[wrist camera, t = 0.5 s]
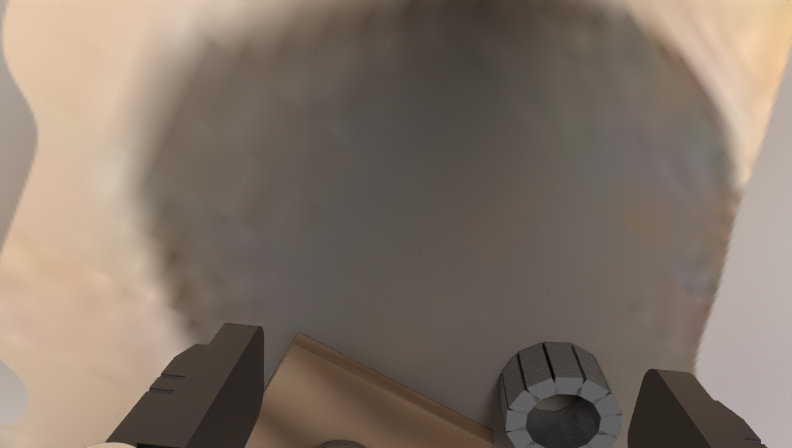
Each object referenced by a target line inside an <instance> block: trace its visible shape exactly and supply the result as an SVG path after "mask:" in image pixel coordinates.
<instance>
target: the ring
mask: <svg viewBox="0 0 792 448" xmlns="http://www.w3.org/2000/svg"><path fill="white" fill-rule="evenodd" d="M502 372H503V373H501V380H500V399H501V405H502V411H503V417H504V423H505V430H506V434H507V435H508V437H509V438H510V440H511V441H512V443H513V445H514V446H515V448H608V447H609V446H610V445H611V444H612V443H613V442H614V441H615V440H616V439H617V438H616V436H618V435H619V430H620V425H621V420H622V414H621V413H622V412H621V409H620V407H619V405H618V403H617V401H616V399H615V396H614V394H613V392H612V390H611V388H610V385H609V383H608V381H607V379H606V377H605V375H604V373H603V371H602V369H601V367H600V365H599V363H598V361H597V360H596V358H595V357H594V356H593V355H592V354H590V353H589V352H587V351H585V350H583V349H581V348H579V347H578V346H576V345H574V344H572V345H571V346H570V343H556V342H544V347H543V346H542V344H541V343H539V344H537V345H534V346H532V347H529V348H527V349H525V350H522V351H520V352H519V356H518V355H517V354H515V356H514V357H513V358H512V359H511V360H510V362H509V363H508V364H507V365H506V367H505V368H504V369H503V370H502ZM556 394H571V395H579V396H581V397H580V398H579V399H578V400H577V401H576V402H575V403H574V404H573V405H572V406H569V407H566V408H564V409H561V410H559V411H543V410H538V409H536V408H534V406H535V405H536V404H537V402H538V401H540V400H543V399H545V398H548V397H550V396H553V395H556Z"/></svg>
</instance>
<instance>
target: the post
mask: <svg viewBox="0 0 792 448" xmlns="http://www.w3.org/2000/svg"><path fill="white" fill-rule="evenodd" d="M316 448H367V447H365V446H363V445H362V444H359V443H357V442H354V441H350V440H331V441H327V442H324V443H322V444H320V445H319V446H317V447H316Z"/></svg>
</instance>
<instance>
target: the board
mask: <svg viewBox="0 0 792 448" xmlns="http://www.w3.org/2000/svg"><path fill="white" fill-rule="evenodd" d="M331 440H350V441H354V442H357V443H359V444H362V445H363V446H365V447H367V448H492V447H493V446H494V442H493V434H492V430H490V429H488V428H486V427H484V426H482V425H480V424H478V423H476V422H474V421H472V420H470V419H468V418H466V417H464V416H462V415H460V414H458V413H456V412H454V411H452V410H450V409H448V408H446V407H444V406H442V405H440V404H438V403H436V402H434V401H433V400H431V399H429V398H427V397H425V396H423V395H421V394H419V393H417V392H415V391H413V390H411V389H409V388H407V387H405V386H403V385H401V384H399V383H397V382H395V381H393V380H391V379H389V378H387V377H385V376H383V375H381V374H379V373H377V372H375V371H373V370H371V369H370V368H368V367H366V366H364V365H362V364H360V363H358V362H356V361H354V360H352V359H350V358H348V357H346V356H344V355H342V354H340V353H338V352H336V351H334V350H332V349H330V348H328V347H326V346H324V345H322V344H320V343H318V342H316V341H314V340H312V339H310V338H309V337H307V336H305V335H303V334H301V333H299V332H298V334H297V336H296V338H295V339H294V341H293V343H292V344H291V346H290V348H289V349H288V351H287V353H286V354H285V356H284V358H283V360H282V361H281V363H280V365H279V366H278V368H277V370H276V371H275V373H274V375H273V376H272V378H271V380H270V382H269V383H268V385H267V387H266V388H265V390H264V393H263V401H262V406H261V410H260V414H259V417H258V419H257V422H256V424H255V426H254V428H253V431H252V433H251V435H250V437H249V439H248V441H247V444H246V446H245V448H316V447H317V446H319V445H320V444H322V443H324V442H327V441H331Z"/></svg>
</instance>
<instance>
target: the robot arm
mask: <svg viewBox="0 0 792 448" xmlns="http://www.w3.org/2000/svg"><path fill="white" fill-rule="evenodd" d="M263 393H264V332H263V329H262V327H260V326H251V325H242V324H232V323H225V324H224V325H223V326H222V328H221V329H220V330H219V332H218V333H217V334H216V336H215V337H214V338H213V340H212V341H211V343H210V344H209V345H201V344H195V345H194V346H192V347H190V348H189V349H187V350H185V351H184V352H182V353H181V354H179V355H177V356H176V357H174V358H173V360H172V361H171V362H170V363H169V365H168V366H167V367H166V368H165V370H164V371H163V372H162V373H161V377H158V378H157V379H156V381H155V382H154V383H153V384H152V385H151V387H150V389H149V392H148V391H147V392H146V393H145V394H144V395H143V396H142V398H141V399H140V400H139V401H138V403H137V404H136V405H135V406H134V407H133V409H132V410H131V411H130V412H129V414H128V415H127V416H126V417H125V419H124V420H123V421H122V422H121V423H120V425H119V426H118V427H117V428H116V430H115V431H114V432H113V433H112V434H111V436H110V437H109V438H108V439H107V441H106V442H105V443H102V444H96V445H92V446H88V447H86V448H245V446H246V444H247V441H248V439H249V437H250V435H251V433H252V431H253V428H254V426H255V424H256V422H257V419H258V417H259V414H260V410H261V406H262V401H263ZM628 448H767V447H766V446H765V445H764V444H761V440H760V439H759V437H758V436H757V435H756V434H755V433H754V431H753V430H752V429H751V428H750V427H749V426H748V424H747V423H746V422H745V421H744V420H743V419H742V418H741V417H739V416H738V415H736V414H735V413H734V412H733V411H731V410H730V409H728V408H727V407H726V406H724V405H723V404H722V403H720V402H719V401H715V400H713V399H712V398H711V397H710V395H709V394H708V393H707V392H706V390H705V389H704V388H703V387H702V386H701V384H700V383H699V382H698V381H697V379H696V378H695V377H694V376H693V375H692V374H690V373H687V372H678V371H668V370H659V369H649V370H648V371H647V372H646V373H645V375H644V378H643V381H642V384H641V388H640V391H639V395H638V398H637V402H636V406H635V409H634V413H633V416H632V420H631V423H630V427H629V431H628Z"/></svg>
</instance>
